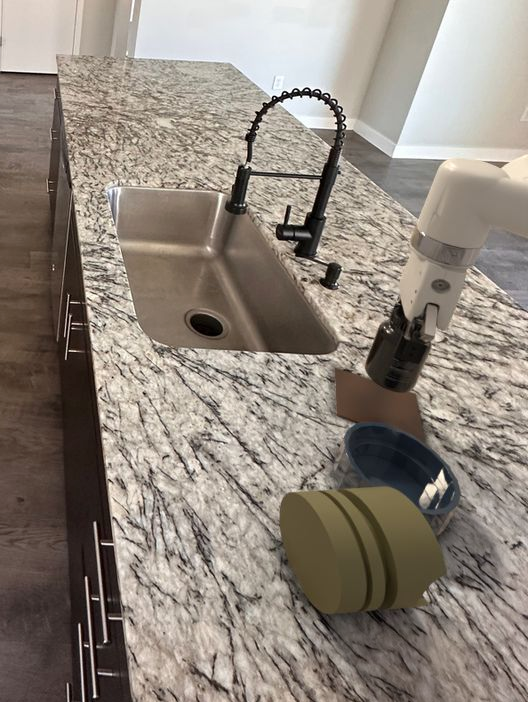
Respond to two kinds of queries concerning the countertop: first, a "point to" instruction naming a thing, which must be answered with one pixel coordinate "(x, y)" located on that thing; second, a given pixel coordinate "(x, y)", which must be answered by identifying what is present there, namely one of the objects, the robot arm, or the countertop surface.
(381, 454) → the bowl
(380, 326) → the supplement bottle
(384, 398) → the walnut board
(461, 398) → the countertop surface
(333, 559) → the piston
